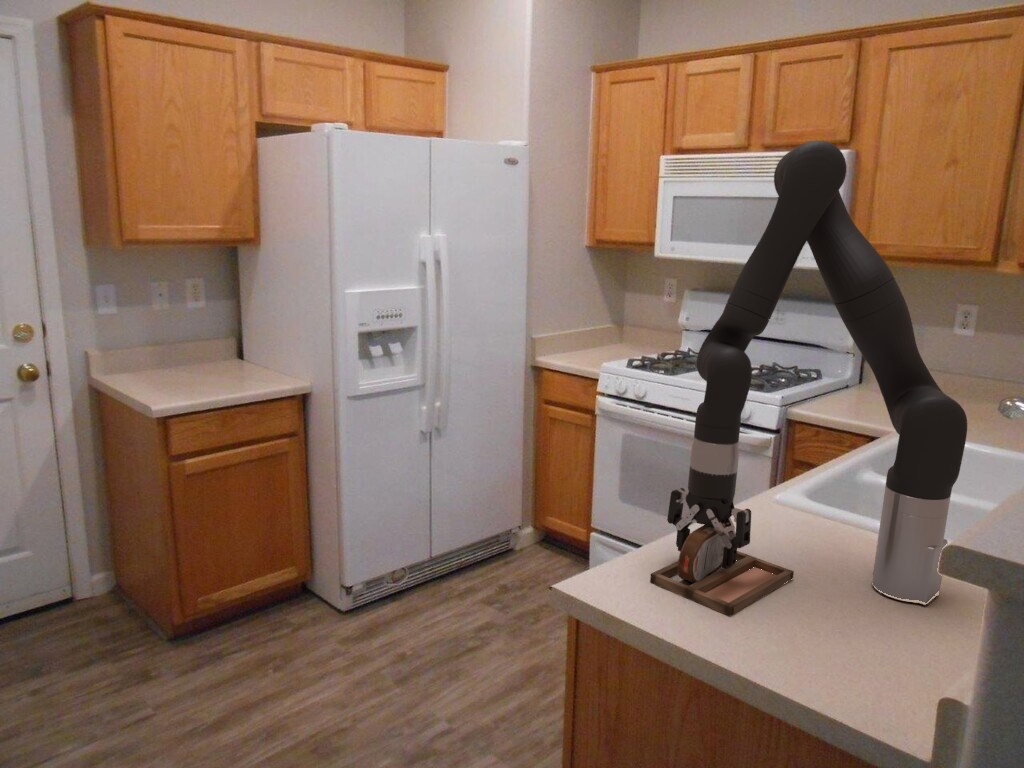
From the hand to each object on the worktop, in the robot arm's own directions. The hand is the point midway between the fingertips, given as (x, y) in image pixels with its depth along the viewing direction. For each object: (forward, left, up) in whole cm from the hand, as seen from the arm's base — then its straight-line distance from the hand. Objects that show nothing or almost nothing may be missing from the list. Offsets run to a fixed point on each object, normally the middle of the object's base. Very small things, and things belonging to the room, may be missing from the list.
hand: (704, 558), depth 131 cm
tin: (0, 0, -3) cm, 3 cm away
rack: (-4, 0, -3) cm, 4 cm away
